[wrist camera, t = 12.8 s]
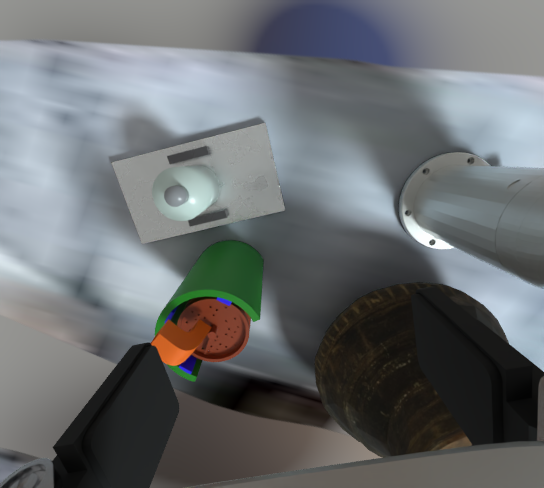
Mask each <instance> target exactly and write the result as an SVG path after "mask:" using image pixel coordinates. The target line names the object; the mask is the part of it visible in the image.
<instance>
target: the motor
mask: <svg viewBox="0 0 544 488" xmlns="http://www.w3.org/2000/svg"><path fill="white" fill-rule="evenodd" d="M263 261H264V260H263V258H262V257H261V255H260V254H259V253H258V252H257V251H256V250H255V249H254V248H253V247H251V246H249V245H248V244H246V243H243V242H240V241H234V240H227V241H221V242H218V243H215V244H213V245H211V246H210V247H208V248H207V249H206V250H205V251H204V252H203V253H202V255H201V256H200V258H199V259H198V260H197V262H196V263H195V265H194V266H193V268H192V269H191V271H190V272H189V273H188V275H187V276H186V278H185V279H184V281H183V282H182V283H181V285H180V286H179V288H178V289H177V291H176V292H175V294H174V295H173V296H172V298H171V299H170V301H169V302H168V304H167V305H166V306H165V308H164V309H163V311H162V312H161V314H160V316H159V318H158V320H157V323H156V328H155V338H154V339H153V341H152V342H151V345H152V346H153V345H154V346H156V348H157V350H158V352H159V355H160V357H161V360H162V361H163V362H164V363H166V364H167V365H168V366H169V367H170V368H171V369H172V370H173V371H174V372H176V373H177V374H178V375H180V376H182V377H184V378H186V379H188V380H190V381H193V382H194V381H195V379H196V377H197V375H198V372H199V369H200V366H201V363H202V360H204V361H209V362H221V361H225V360H229V359H231V358H233V357H235V356H236V355H238V354H239V353H240V352H241V351H242V350H243V349H244V347H245V346H246V344H247V341H248V338H249V330H250V322H251V319H252V320H253V322H255V321H257V320H260V312H261V295H262V278H263ZM208 350H209V351H208Z"/></svg>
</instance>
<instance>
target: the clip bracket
mask: <svg viewBox="0 0 544 488" xmlns="http://www.w3.org/2000/svg"><path fill="white" fill-rule="evenodd" d="M111 163H112V166H113V169H114V171H115V174H116V177H117V179H118V182H119V184H120V187H121V190H122V192H123V195H124V198H125V200H126V203H127V206H128V208H129V211H130V214H131V216H132V219H133V221H134V224H135V227H136V229H137V232H138V235H139V237H140V240H141V243H142V244H145V243H149V242H153V241H157V240H162V239H166V238H170V237H174V236H179V235H183V234H187V233H191V232H196V231H200V230H204V229H208V228H213V227H217V226H221V225H225V224H230V223H234V222H238V221H242V220H247V219H251V218H255V217H259V216H264V215H268V214H272V213H276V212H281V211H285V207H284V202H283V198H282V193H281V189H280V185H279V180H278V176H277V171H276V167H275V163H274V158H273V154H272V149H271V145H270V141H269V136H268V132H267V128H266V123H262V124H258V125H254V126H251V127H247V128H243V129H239V130H235V131H231V132H227V133H223V134H220V135H216V136H212V137H208V138H204V139H200V140H196V141H192V142H189V143H185V144H181V145H177V146H173V147H169V148H165V149H162V150H158V151H154V152H150V153H146V154H142V155H138V156H134V157H131V158H127V159H123V160H119V161H115V162H111ZM193 165H200V166H204V167H207V168H208V169H210V170H211V171H212V172H213V173H214V174H215V175H216V177H217V179H218V181H219V185H220V192H219V196H218V198H217V200H216V201H215V202H214V203H213V204H212V205H211V206H210V207H208V208H207V209H206V210H204V211H203V212H202V213H200V214H199V215H198V216H196V217H195V218H193V219H191V220H188V221H176V220H172V219H170V218H168V217H166V216H164V215H163V214H162V213H161V212H160V211H159V210H158V208H157V207H156V205H155V203H154V200H153V196H152V187H153V183H154V181H155V179H156V177H157V176H158V175H159V174H160V173H161V172H162V171H164V170H166V169H168V168H172V167H181V166H193Z"/></svg>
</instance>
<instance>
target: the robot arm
mask: <svg viewBox="0 0 544 488" xmlns="http://www.w3.org/2000/svg"><path fill="white" fill-rule="evenodd" d="M467 160H468V162H467ZM423 169H424V173H423ZM405 211H407V212H406V213H405ZM399 216H400V220H401V223H402V225H403V227H404V229H405V231H406V232H407V233H408V234H409V236H410V237H411V238H413V239H414V240H415V241H417V242H418V243H420V244H422V245H424V246H426V247H429V248H433V249H440V250H441V249H452V248H457V249H459V250H461V251H463V252H465V253H467V254H469V255H471V256H473V257H475V258H477V259H479V260H481V261H483V262H485V263H487V264H489V265H491V266H493V267H495V268H498V269H500V270H502V271H504V272H506V273H508V274H510V275H512V276H514V277H516V278H518V279H521V280H523V281H525V282H527V283H529V284H531V285H534V286H536V287H539V288H542V289H544V168H526V167H496V166H490V165H489V164H488V163H487V162H486V161H485V160H484V159H482V158H480V157H478V156H476V155H473V154H469V153H462V152H453V153H446V154H441V155H438V156H436V157H433V158H431V159H429V160H427V161H426V162H424V163H423V164H421V165H420V166H419V167H418V168H417V169H416V170H415V171H414V172H413V173H412V174H411V176H410V177H409V178H408V180H407V181H406V183H405V185H404V187H403V189H402V192H401V196H400V201H399ZM429 241H430V242H429ZM411 302H412V311H413V320H414V329H415V338H416V347H417V356H418V362H419V365H420V368H421V370H422V371H423V373H424V374H425V376H426V377H427V379H428V380H429V382H430V383H431V385H432V386H433V388H434V389H435V391H436V392H437V393H438V395H439V396H440V398H441V399H442V401H443V402H444V404H445V405H446V407H447V408H448V410H449V411H450V413H451V414H452V416H453V417H454V418H455V420H456V421H457V423H458V424H459V426H460V427H461V429H462V430H463V432H464V433H465V435H466V436H467V438H468V439H469V441H470V442H471V443H472V445H473V446H467V447H459V448H451V449H443V450H436V451H428V452H420V453H412V454H406V455H399V456H392V457H385V458H378V459H371V460H364V461H357V462H351V463H344V464H337V465H330V466H324V467H316V468H310V469H303V470H296V471H290V472H284V473H277V474H270V475H263V476H257V477H250V478H244V479H238V480H232V481H225V482H218V483H211V484H205V485H198V486H192V487H186V488H544V372H543V371H542V370H541V369H539V368H538V367H537V366H536V365H534V364H533V363H532V362H531V361H529V360H528V359H527V358H526V357H524V356H523V355H522V354H521V353H519V352H518V351H517V350H516V349H514V348H513V347H512V346H511V345H509V344H508V343H507V342H506V341H504V340H503V339H502V338H501V337H500V336H498V335H497V334H496V333H495V332H493V331H492V330H491V329H490V328H488V327H487V326H486V325H485V324H483V323H482V322H481V321H479V320H477V319H475V318H474V317H472V316H471V315H470V314H469V313H467V312H466V311H465V310H464V309H463V308H461V307H460V306H459V305H458V304H456V303H455V302H454V301H453V300H451V299H450V298H449V297H448V296H446V295H445V294H444V293H443V292H442V291H440V290H439V289H438V288H437V287H435V286H431V287H426V288H421V289H417V290H416V294H413V295H411ZM178 413H179V403H178V400H177V397H176V395H175V392H174V390H173V387H172V385H171V382H170V380H169V377H168V375H167V372H166V370H165V367H164V365H163V362H162V360H161V357H160V355H159V352H158V350H157V348H156V346H154V345H153V346H152V345H151V344H150V343H143V344H138V345H134V346H132V347H131V348H130V349H129V350H128V352H127V353H126V354H125V355H124V357H123V358H122V359H121V361H120V362H119V363H118V364H117V366H116V367H115V368H114V370H113V371H112V372H111V373H110V375H109V376H108V377H107V379H106V380H105V381H104V382H103V384H102V385H101V386H100V388H99V389H98V390H97V391H96V393H95V394H94V395H93V397H92V398H91V399H90V400H89V402H88V403H87V404H86V405H85V407H84V408H83V409H82V411H81V412H80V413H79V414H78V416H77V417H76V418H75V420H74V421H73V422H72V423H71V425H70V426H69V427H68V429H67V430H66V431H65V433H64V434H63V435H62V436H61V438H60V439H59V440H58V441H57V443H56V444H55V445H54V447H53V448H54V450H55V452H56V454H57V456H56V457H55V458H54V460H53V461H51V460H50V459H48V458H41V459H37V460H34V461H31V462H29V463H28V464H26V465H24V466H22V467H20V468H19V469H18V470H16V471H15V472H13V473H12V474H10V475H9V476H8V477H7V478H6V479H5V480H4V481H2V482H1V483H0V488H149V487H150V484H151V482H152V479H153V477H154V474H155V472H156V469H157V467H158V464H159V462H160V459H161V456H162V454H163V451H164V449H165V446H166V444H167V441H168V439H169V436H170V433H171V431H172V428H173V426H174V423H175V420H176V418H177V415H178Z"/></svg>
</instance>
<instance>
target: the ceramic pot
mask: <svg viewBox="0 0 544 488" xmlns="http://www.w3.org/2000/svg"><path fill="white" fill-rule="evenodd" d="M431 286H435V287H437V288H438V289H439V290H440V291H442V292H443V293H444V294H445V295H446V296H448V297H449V298H450V299H451V300H453V301H454V302H455V303H456V304H458V305H459V306H460V307H461V308H463V309H464V310H465V311H466V312H467V313H469V314H470V315H471V316H472V317H474V318H475V319H477V320H479V321H481V322H482V323H483V324H485V325H486V326H487V327H488V328H490V329H491V330H492V331H493V332H495V333H496V334H497V335H498V336H500V337H501V338H502V339H503V340H504V341H506V342H507V343H508V344H509V342H508V340H507V338H506V335H505V333H504V331H503V329H502V327H501V326H500V324H499V322H498V320H497V319H496V318H495V317H494V315H493V314H492V313H491V312H490V311H489V310H488V309H487V308H486V307H485V306H484V305H482V304H481V303H480V302H478V301H477V300H475V299H473V298H472V297H470V296H469V295H467V294H466V293H464V292H462V291H460V290H457V289H454V288H452V287H449V286H446V285H443V284H436V283H423V282H416V283H407V284H398V285H394V286H390V287H387V288H383V289H380V290H376V291H373V292H371V293H369V294H367V295H365V296H363V297H361V298H359V299H357V300H356V301H355V302H354V303H353V304H352V305H350V306H349V307H348V308H347V309H346V310H345V311H343V312H342V313H341V314H340V315H339V316H338V317H337V318H336V320H335V321H334V322H333V323H332V325H331V326H330V327H329V329H328V330H327V331H326V333H325V336H324V338H323V340H322V342H321V344H320V347H319V349H318V352H317V354H316V357H315V375H316V385H317V388H318V391H319V394H320V397H321V400H322V402H323V405H324V408H325V409H326V410H327V412H328V413H329V414H330V416H331V417H332V418H333V419H334V420H335V421H336V422H337V423H338V424H339V426H340V427H341V428H342V429H343V430H344V431H346V432H347V433H348V434H350V435H351V436H352V437H353V438H355V439H356V440H357V441H359V442H361V443H362V444H363V445H364V446H365V447H366V448H367V449H368V450H370V451H372V452H373V453H375V454H377V455H378V456H380V457H383V458H385V457H392V456H399V455H406V454H412V453H420V452H428V451H436V450H443V449H451V448H459V447H467V446H473V445H472V443H471V442H470V441H469V439H468V438H467V436H466V435H465V433H464V432H463V430H462V429H461V427H460V426H459V424H458V423H457V421H456V420H455V418H454V417H453V416H452V414H451V413H450V411H449V410H448V408H447V407H446V405H445V404H444V402H443V401H442V399H441V398H440V396H439V395H438V393H437V392H436V391H435V389H434V388H433V386H432V385H431V383H430V382H429V380H428V379H427V377H426V376H425V374H424V373H423V371H422V370H421V368H420V365H419V362H418V356H417V347H416V338H415V329H414V320H413V311H412V302H411V295H413V294H416V290H417V289H421V288H426V287H431Z"/></svg>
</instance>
